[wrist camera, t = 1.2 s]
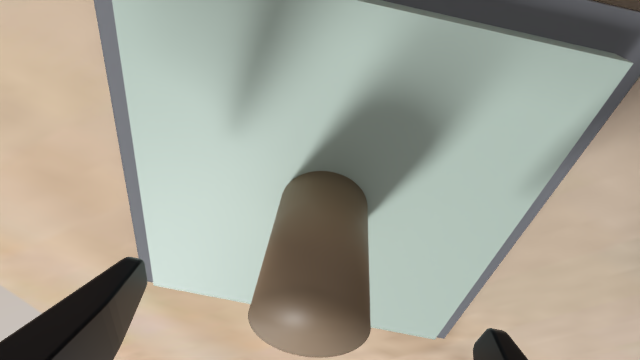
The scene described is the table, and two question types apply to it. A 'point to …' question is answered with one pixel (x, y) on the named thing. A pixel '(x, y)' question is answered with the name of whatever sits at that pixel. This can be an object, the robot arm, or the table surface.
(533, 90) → the board
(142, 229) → the rubber mat
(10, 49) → the table surface
